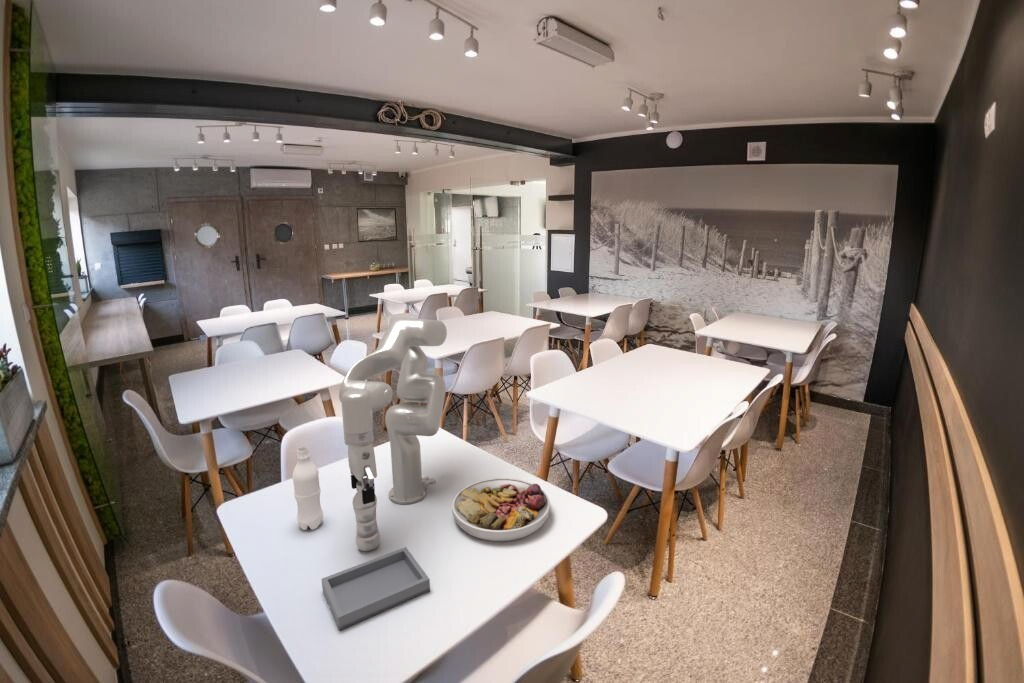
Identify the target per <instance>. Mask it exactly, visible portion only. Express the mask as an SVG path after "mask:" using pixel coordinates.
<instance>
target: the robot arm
mask: <svg viewBox="0 0 1024 683" xmlns="http://www.w3.org/2000/svg"><path fill="white" fill-rule="evenodd" d="M447 335H448V332H447V326H446V325H445V323H444V322H443V321H442V320H435V319H434V320H433V319H427V318H410V317H408V318H407V317H404V318H403V317H402V318H401V317H400V318H399V317H398V318H396V319H393V320H391V321H390V323H389V324H388V326H387V328H386V330H385V331H384V334H383V335H382V338H381V339H380V341H379V343H378V346H377V347H376V349H375V351H372V352H371V353H369V354H367V355H366V356H364V357H363V358H361V359H360V360H357V362H356V363H354V364H353V365H352V366H351V367H350V368H349V369H348V371H347V372H346V375H345V376H344V378H343V380H342V383H341V385H340V388H339V393H338V398H339V399H338V400H339V401H340V403H341V413H342V414H341V415H342V416H341V417H342V425H343V426H342V427H343V439H344V440H343V441H344V444H345V445H346V446H347V459H348V468H349V471H350V481H351V483H350V484H351V489H352V490H355V489H356V488H357V486H356V484H357V482H358V481H360V482H361V483H362V487H363V490H362V501H363V504H368V503H371V502H374V501H375V495H376V492H375V488H376V487H375V486H376V485H375V479H376V478H377V477H378V472H377V463H376V454H375V448H374V445H373V442H374V440H375V436H374V432H375V430H374V418H373V414H374V413H375V412H378V411H381V410H383V409H385V408H386V407H388V406H389V405H390V404H391V402H392V400H393V398H394V397H393V396H394V390H393V388H392V387H391V385H390V384H388V383H386V382H382V381H371V380H368V379H370V378H372V377H375V376H377V375H380V374H381V375H382V374H383V373H387V372H391V371H393V370H396V369H397V368H399V367H400V369H399V370H400V372H399V375H398V376H399V377H398V381H397V385H396V386H397V387H396V396H397V397H398V399H399V400H401V401H404V402H411V403H424V404H426V405H416V404H408V403H407V404H406V403H405V404H404V403H400V404H394V405H392V406H390V407H389V408H388V409H387V410H386V413H385V416H384V417H385V418H384V419H385V420H384V422H385V426H386V430H387V434H388V438H389V439H388V440H389V447H390V448H389V449H390V459H391V461H390V462H391V472H392V474H391V475H392V488H391V489H390V490H389V491H388V498H389V500H390V501H391V502H393V503H395V504H400V505H409V504H415V503H418V502H420V501H422V500H423V499H424V498H425V497H427V494H428V487H429V486H430V485H435V484H436V483H437V478H436V477H431V478H430V477H429V476H426V477H425V476H424V477H423V475H422V474H423V473H422V472H423V471H422V457H421V456H422V455H421V451H422V450H421V444H420V440H419V439H418V437H417V436H419V437H421V436H422V437H432V436H433V437H434V436H435V435H436V434H437V433H438V432H439V429H440V427H441V423H442V422H441V421H442V416H443V415H442V414H443V409H444V403H445V397H446V391H447V390H446V388H447V387H446V382H445V379H444V378H443V377H442V376H441V375H439V374H436V373H435V374H434V373H427V370H428V364H429V362H428V358H427V356H426V353H425V352H424V350H422V348H421V347H439V346H441V345H443V344H444V343H445V342H446V339H447ZM367 480H368V483H367V484H366V486H365V482H364V481H367Z"/></svg>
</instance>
